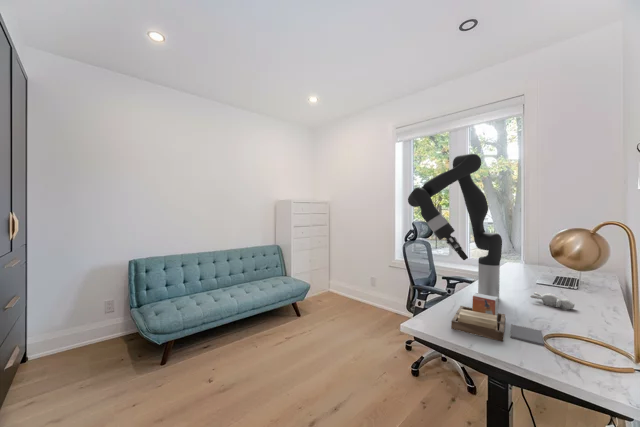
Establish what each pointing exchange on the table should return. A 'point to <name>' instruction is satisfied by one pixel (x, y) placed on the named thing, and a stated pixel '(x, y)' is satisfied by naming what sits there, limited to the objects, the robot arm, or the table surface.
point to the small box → (485, 304)
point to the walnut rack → (479, 330)
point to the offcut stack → (478, 319)
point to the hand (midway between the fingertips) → (465, 258)
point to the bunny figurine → (554, 300)
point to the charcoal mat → (527, 334)
